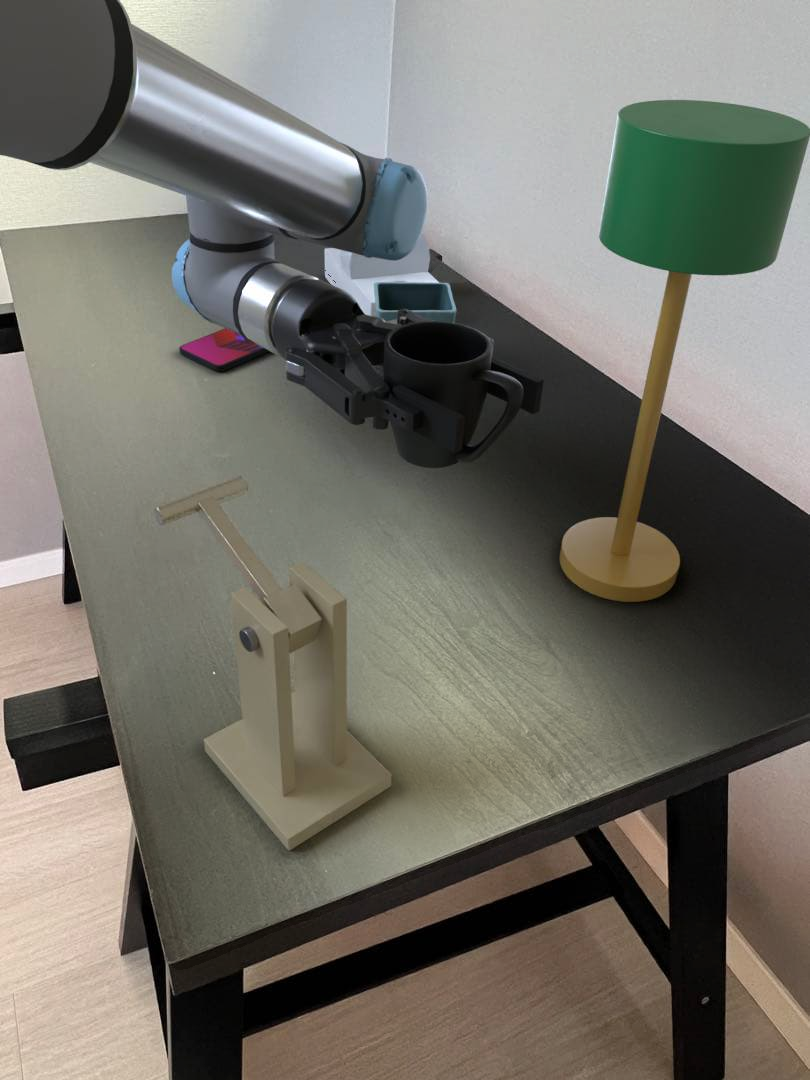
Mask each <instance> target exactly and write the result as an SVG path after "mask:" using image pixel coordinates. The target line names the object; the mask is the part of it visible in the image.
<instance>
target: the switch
mask: <svg viewBox="0 0 810 1080" xmlns="http://www.w3.org/2000/svg"><path fill="white" fill-rule="evenodd" d="M248 492H249V487H248V482H247V481H246V479H245V477H244V476H242V475H236V476H235V477H232V478H229V479H226V480H223V481H221V482H219V483H216V484H213V485H211V486H208V487H204V488H201V489H199V490H197V491H194V492H191V493H188V494H186V495H182V496H180V497H178V498H175V499H173V500H170V501H166V502H164V503H162V504H159V505H156V506H155V507H153V515H154V518H155V520H156V521H157V523H158V524H159V525H160V526H164V525H168V524H171V523H173V522H175V521H178V520H180V519H183V518H186V517H188V516H190V515H193V514H196V513H197V514H198V516H199V517H200V519H201V520H202V521H203V522H204V525H206V527H207V529H208V530H209V531H210V532H211V534H212V535H213V537H214V538H215V540H216V541H217V542H218V543H219V545H220V546H221V547H222V549H223V550H224V552H225V553H226V555H227V556H228V557H229V559H230V560H231V562H232V563H233V564H234V566H235V567H236V569H238V571H239V572H240V574H241V575H242V576H243V579H245V581H246V582H247V583H248V585H249V586H250V587H251V589H252V590H253V592H254V593H255V595H256V597H257V598H258V599H259V600H260V601H261V602H262V603H263V604H264V605H265V606H266V607H267V608H268V609H269V610H270V611H271V612H272V613H273V614H274V615H276V616H277V617H278V618H279V619H280V620H281V621H282V622H283V623H284V624H285V625H286V626H287V627H288V637H289V655H291V654H293V652H294V651H296V650H298V649H300V648H302V647H304V646H306V645H308V644H310V643H312V642H314V641H315V639H316V636H317V633H318V630H319V627H320V624H321V620H322V618H321V617H320V616H319V614H318V613H317V612H316V610H315V609H314V608H313V606H312V605H311V604H310V602H309V601H308V600H307V598H306V597H305V596H304V594H303V593H302V592H301V590H300V589H299V588H298V586H297V585H296V584H294V585H291V586H290V585H289V586H287V587H285V588H282V587H281V586H280V584H279V583H278V581H277V579H275V577H274V576H273V575H272V573H271V572H270V571H269V569H268V568H267V566H266V565H265V564H264V563H263V561H262V560H261V559H260V557H259V556H258V555H257V553H256V552H255V550H254V549H253V548H252V546H251V545H250V543H248V541H247V540H246V538H245V537H244V536H243V534H242V533H241V532H240V530H239V529H238V527H237V526H236V525H235V523H233V521H232V520H231V518H230V517H229V515H228V514H227V513H226V512H225V510H224V509H223V507H222V506H221V504H223V503H225V502H227V501H230V500H232V499H235V498H237V497H240V496H243V495H245V494H247V493H248Z"/></svg>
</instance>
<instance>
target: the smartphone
mask: <svg viewBox="0 0 810 1080" xmlns="http://www.w3.org/2000/svg"><path fill="white" fill-rule="evenodd" d="M178 349H179V354H180V355H181V356H183V357H185V358H188V359H190V360H192V361H194V362H196V363H199V365H200V364H201V365H202V366H204V367H206V368H208V369H211V370H213V371H215V372H223V371H226V370H228V369H230V368H233V367H235V366H238V365H240V364H242V363H245V362H246V361H247V362H248V361H249V360H252V359H254V358H256V357H259V356H261V355H263V354H266V353H268V352H270V351H269V350H267V349H265V348H263V347H262V346H260V345H258V344H256V343H254V342H251V341H249V340H247V339H246V338H245V337H243V336H241V335H239V334H237V333H235V332H233V331H231V330H229V329H226V328H223V329H220V330H217V331H215V332H213V333H209V334H207V335H204V336H202V337H199V338H197V339H195V340H191V341H189V342H187V343H184V344H182V345H180V346H179V348H178Z"/></svg>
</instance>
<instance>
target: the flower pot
mask: <svg viewBox="0 0 810 1080" xmlns="http://www.w3.org/2000/svg"><path fill="white" fill-rule="evenodd" d="M374 293H375V304H376V317H379V318H382V319H384V320H385V321H386V322H387V321H391V320H395V319H397V311H398V310H400V309H408V310H410V311H412V312H414V313H415V314H417V315H419V316H421V317H423V318H426V319H430V320H433V321H443V322H451V323H456V315H457V307H456V303H455V301H454V296H453V292H452V289H451V285H450V283H449V282H439V283H433V282H426V283H425V282H376V283H374Z"/></svg>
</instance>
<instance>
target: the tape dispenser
mask: <svg viewBox="0 0 810 1080" xmlns="http://www.w3.org/2000/svg"><path fill="white" fill-rule="evenodd" d="M430 261H431V253H430V245H429V244H428V241H427V239H426V237H425V234H423V233H422V234H421V236H420V238H419V240H418V242H417V244H416V246H415V247H414V249H413V250H412V251H411V252H410V253H409V254H408V255H407V256H405V257H404V258H402V259H400V260H396V261H391V260H386V259H380V258H375V257H371V258H367V257H366V256H363V255H359V254H355V253H351V252H347V251H343V250H339V249H335V248H331V247H326V248H324V277H325V279H326V280H327V281H328V283H329V284H331V285H333V286H335V287H338V288H340V289H342V290H344V291H346V292H348V293H349V294H351V295H352V296H353V297H354V299H355V300H356V302H357V303H358V305H359V307H360V308H361V310H362V311H363V313H364V314H365V315H369V316H373V317H376V304H375V293H374V283H376V282H425V283H426V282H433V283H440V281H438V280H437V279H436V278H435V277H434V276H433V275H432V274H431V273H430V272H429V268H430ZM325 270H326V271H325ZM328 274H329V275H330V276H331V277H330V276H329V275H328ZM333 280H334V281H335V282H336V283H335V282H334V281H333Z"/></svg>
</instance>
